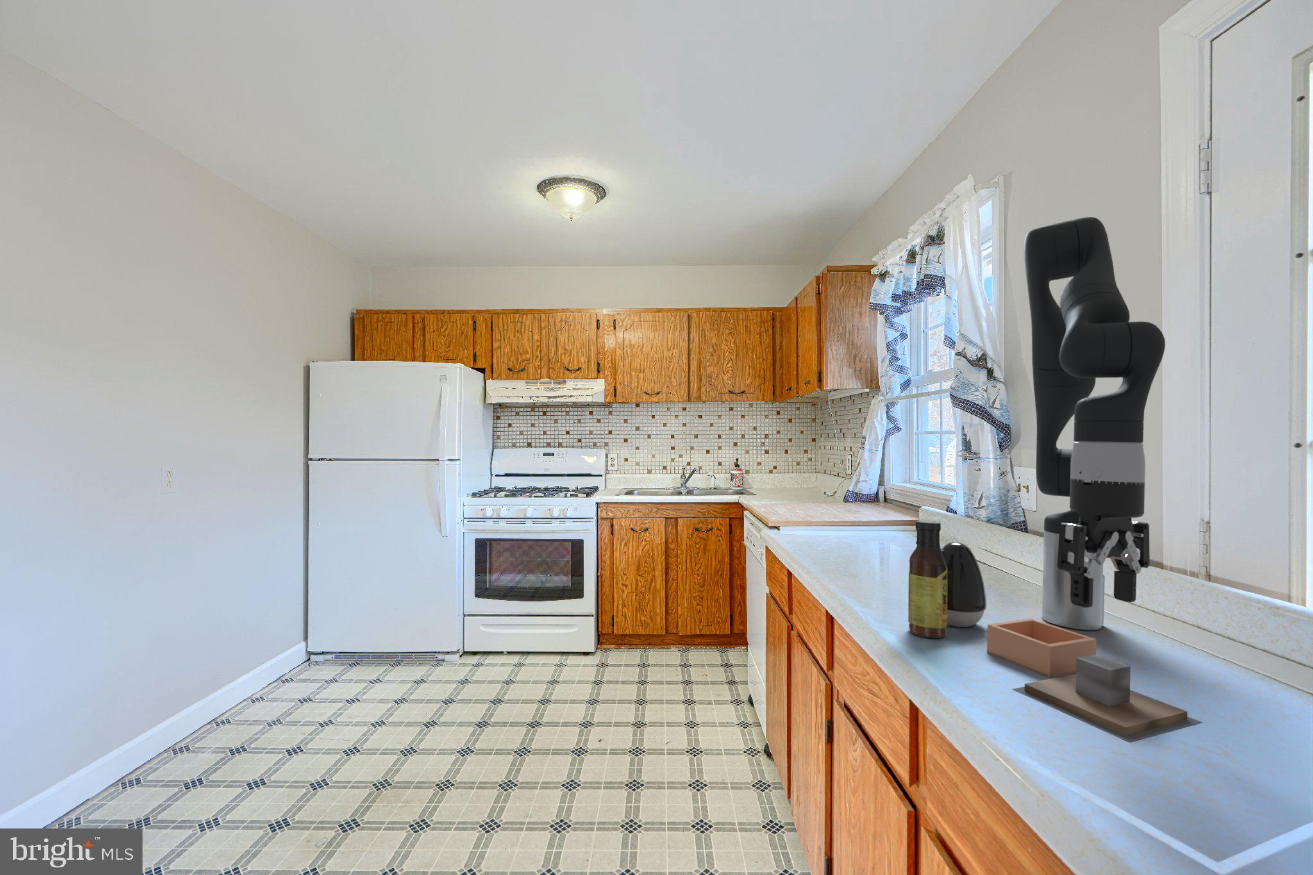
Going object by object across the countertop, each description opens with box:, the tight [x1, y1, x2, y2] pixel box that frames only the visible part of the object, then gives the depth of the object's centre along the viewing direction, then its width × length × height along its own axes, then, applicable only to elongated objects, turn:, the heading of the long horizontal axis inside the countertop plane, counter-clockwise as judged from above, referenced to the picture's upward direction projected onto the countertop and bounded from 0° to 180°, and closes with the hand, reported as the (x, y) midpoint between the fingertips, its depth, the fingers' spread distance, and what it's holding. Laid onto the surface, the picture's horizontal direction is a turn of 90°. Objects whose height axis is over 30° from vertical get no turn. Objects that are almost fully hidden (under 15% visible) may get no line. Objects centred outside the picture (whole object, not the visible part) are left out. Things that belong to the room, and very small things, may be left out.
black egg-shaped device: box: [941, 541, 988, 628], centre depth 106 cm, size 10×10×15 cm
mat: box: [1012, 686, 1203, 743], centre depth 73 cm, size 14×14×1 cm
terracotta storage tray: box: [986, 618, 1097, 679], centre depth 87 cm, size 10×10×5 cm
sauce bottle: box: [907, 519, 948, 639], centre depth 100 cm, size 7×6×20 cm
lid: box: [1024, 654, 1189, 736], centre depth 73 cm, size 12×12×6 cm
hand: (1103, 603), depth 73 cm, fingers open, 8 cm apart
